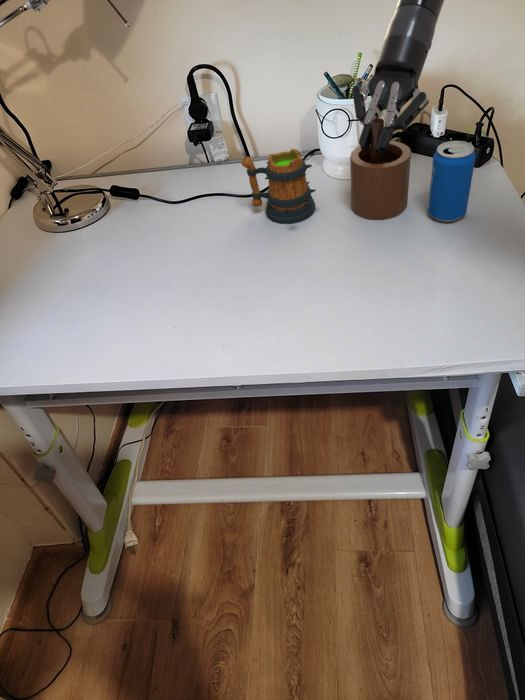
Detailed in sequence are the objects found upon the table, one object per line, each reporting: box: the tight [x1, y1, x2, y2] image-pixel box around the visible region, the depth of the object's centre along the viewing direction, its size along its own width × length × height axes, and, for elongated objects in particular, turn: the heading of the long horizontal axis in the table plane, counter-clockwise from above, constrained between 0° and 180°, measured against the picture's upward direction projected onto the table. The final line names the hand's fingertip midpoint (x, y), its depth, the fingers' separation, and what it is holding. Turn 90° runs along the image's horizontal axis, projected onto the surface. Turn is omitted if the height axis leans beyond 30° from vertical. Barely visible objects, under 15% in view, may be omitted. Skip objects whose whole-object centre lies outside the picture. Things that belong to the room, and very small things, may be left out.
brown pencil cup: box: [349, 140, 412, 221], centre depth 91 cm, size 10×10×10 cm
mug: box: [240, 148, 316, 225], centre depth 94 cm, size 13×10×12 cm
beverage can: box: [427, 140, 477, 223], centre depth 86 cm, size 6×6×12 cm
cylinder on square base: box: [367, 117, 387, 164], centre depth 88 cm, size 4×4×12 cm
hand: (371, 150), depth 86 cm, fingers closed on cylinder on square base, 2 cm apart
